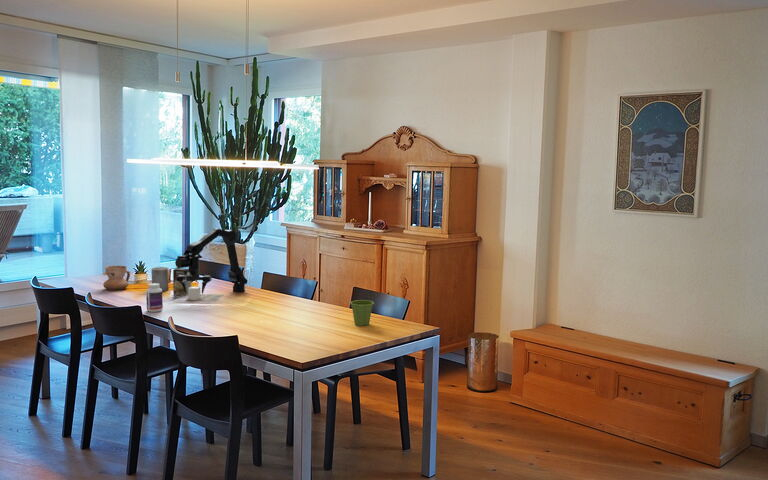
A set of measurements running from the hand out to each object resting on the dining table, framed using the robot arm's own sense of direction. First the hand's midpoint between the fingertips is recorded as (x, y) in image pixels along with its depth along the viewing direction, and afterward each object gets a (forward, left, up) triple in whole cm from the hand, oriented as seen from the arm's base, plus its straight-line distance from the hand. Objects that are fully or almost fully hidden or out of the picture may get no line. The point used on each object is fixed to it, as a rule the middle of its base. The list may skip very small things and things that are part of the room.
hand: (194, 293), depth 379 cm
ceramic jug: (+56, -33, -5) cm, 65 cm away
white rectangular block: (0, 0, -3) cm, 3 cm away
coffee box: (+11, -15, -5) cm, 19 cm away
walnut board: (-5, -4, -4) cm, 8 cm away
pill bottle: (+14, +27, -5) cm, 31 cm away
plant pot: (-96, +52, -5) cm, 109 cm away
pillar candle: (+29, -31, -5) cm, 43 cm away
